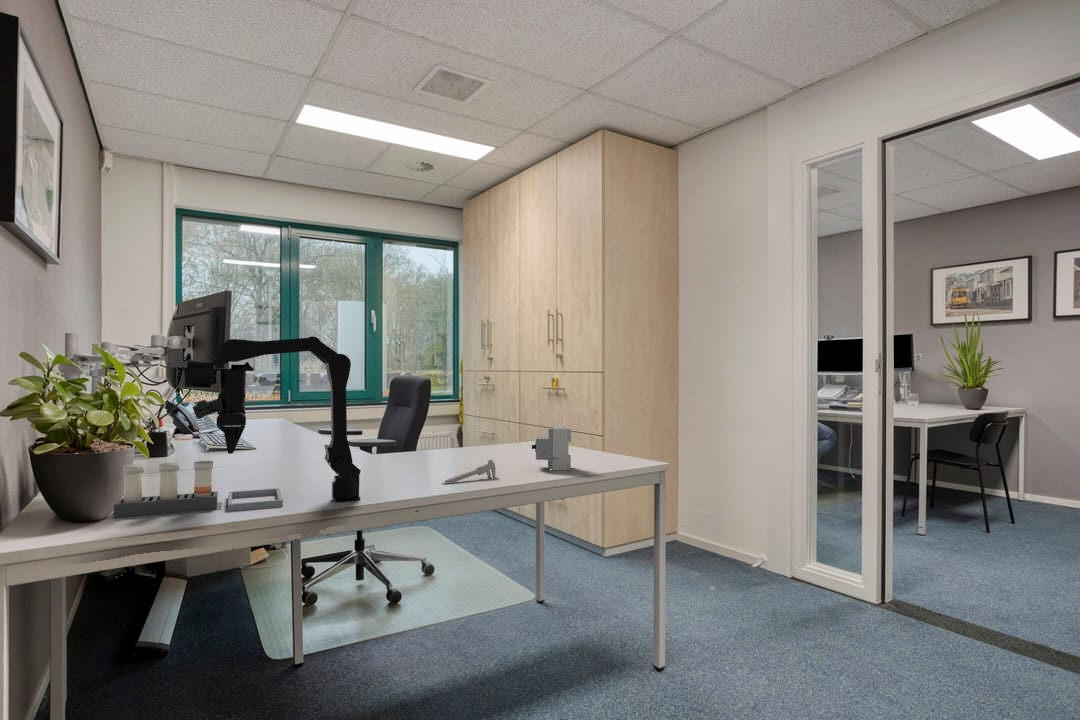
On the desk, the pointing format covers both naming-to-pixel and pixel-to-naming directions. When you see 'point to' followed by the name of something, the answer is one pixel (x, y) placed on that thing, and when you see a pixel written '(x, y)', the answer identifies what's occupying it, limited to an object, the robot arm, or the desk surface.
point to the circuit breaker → (554, 448)
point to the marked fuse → (203, 478)
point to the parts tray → (255, 504)
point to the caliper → (475, 472)
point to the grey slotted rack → (165, 506)
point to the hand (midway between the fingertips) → (230, 450)
